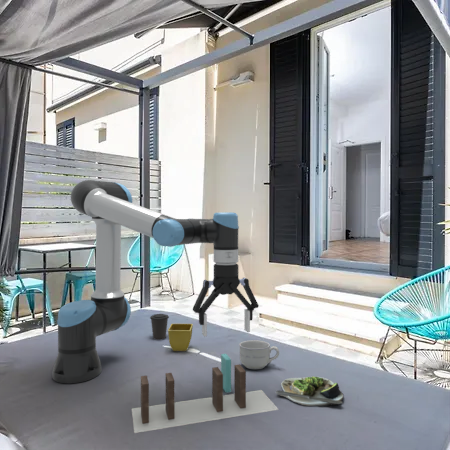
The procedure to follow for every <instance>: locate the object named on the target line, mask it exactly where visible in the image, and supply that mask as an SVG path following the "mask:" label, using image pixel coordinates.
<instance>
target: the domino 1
mask: <svg viewBox="0 0 450 450" xmlns="http://www.w3.org/2000/svg"><path fill="white" fill-rule="evenodd" d="M149 406H150V383H149V379H148V375H141V376H140V407H141V418H142V424H145V423H149Z"/></svg>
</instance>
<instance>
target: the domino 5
mask: <svg viewBox="0 0 450 450" xmlns="http://www.w3.org/2000/svg"><path fill="white" fill-rule="evenodd" d="M233 370H234V371H233V372H234V381H233V382H234V389H233V390H234V391H233V392H234V393H233V394H234V400H235V402H236V403H237V405H238V406H239V407H240V409H241V408H246V392H247V371H246V370H245V368H244V367H243V365H241V364H234V369H233Z"/></svg>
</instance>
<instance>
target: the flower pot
mask: <svg viewBox="0 0 450 450" xmlns="http://www.w3.org/2000/svg"><path fill="white" fill-rule="evenodd" d="M193 325H194V324H193V323H171V324H170V326H169V328H168V329H167V332H168V333H167V334H168V341H169V342H168V343H169V346H170V348H171V350H172V351H173V352H186V351H187V350H188V349H189V346H190V343H191V340H192V335H193V328H194V326H193Z"/></svg>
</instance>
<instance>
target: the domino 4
mask: <svg viewBox="0 0 450 450" xmlns="http://www.w3.org/2000/svg"><path fill="white" fill-rule="evenodd" d="M211 373H212V374H211V376H212V377H211V378H212V382H211V384H212V385H211V387H212V389H211V390H212V391H211V392H212V394H211V397H212V404H213V405H214V407H215V409H216V411H217V412H222V411H223V395H224V389H223V374H222V372H221V368H219V366H217V367H212V372H211Z"/></svg>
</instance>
